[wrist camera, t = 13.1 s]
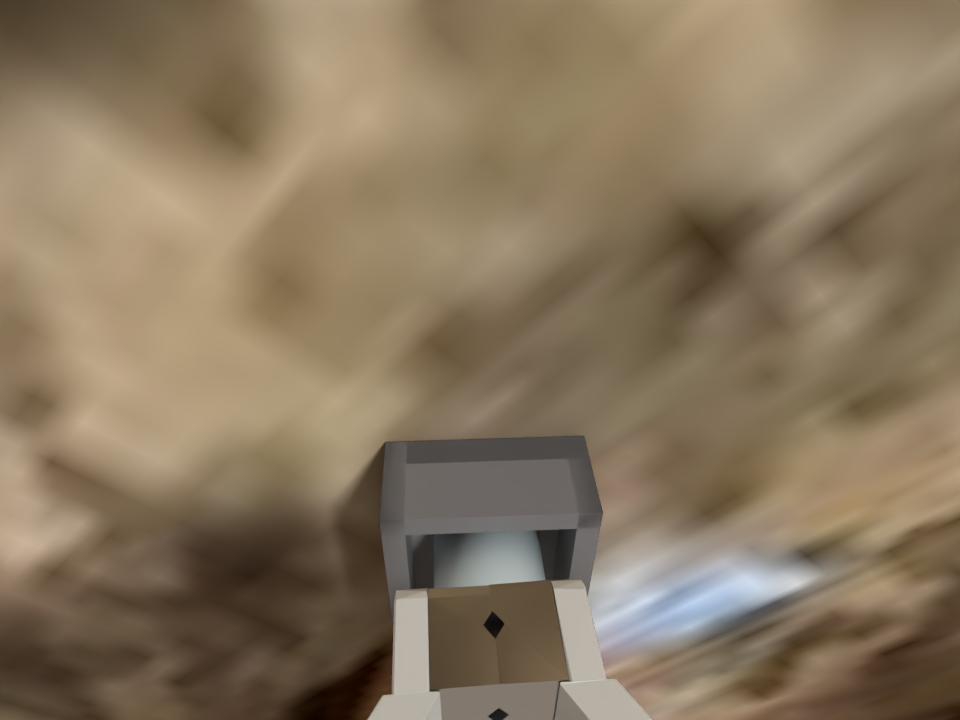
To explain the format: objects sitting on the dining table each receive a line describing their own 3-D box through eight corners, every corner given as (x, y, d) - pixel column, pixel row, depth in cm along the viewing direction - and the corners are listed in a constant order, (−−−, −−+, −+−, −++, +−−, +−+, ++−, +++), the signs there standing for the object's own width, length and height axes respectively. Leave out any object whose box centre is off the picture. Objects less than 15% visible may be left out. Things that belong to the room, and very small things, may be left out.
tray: (583, 435, 23) (642, 672, 16) (543, 718, 35) (568, 916, 29) (385, 441, 22) (366, 685, 16) (415, 725, 35) (411, 926, 28)
